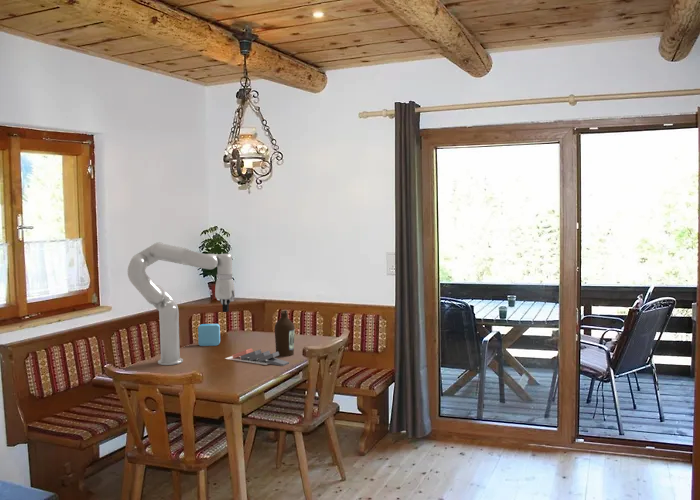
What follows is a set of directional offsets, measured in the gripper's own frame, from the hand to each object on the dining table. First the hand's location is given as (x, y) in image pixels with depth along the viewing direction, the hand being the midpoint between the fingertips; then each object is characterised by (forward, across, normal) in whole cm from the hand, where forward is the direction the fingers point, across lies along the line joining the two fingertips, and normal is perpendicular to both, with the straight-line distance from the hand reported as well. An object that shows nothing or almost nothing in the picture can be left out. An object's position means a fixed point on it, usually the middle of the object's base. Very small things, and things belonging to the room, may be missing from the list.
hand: (225, 311), depth 343 cm
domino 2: (+23, +17, 0) cm, 29 cm away
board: (+25, +16, 0) cm, 30 cm away
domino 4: (+23, +28, 0) cm, 36 cm away
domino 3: (+23, +23, 0) cm, 33 cm away
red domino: (+23, +6, 0) cm, 24 cm away
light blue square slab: (+25, -30, +20) cm, 44 cm away
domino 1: (+23, +12, 0) cm, 26 cm away
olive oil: (+25, +25, +18) cm, 40 cm away
